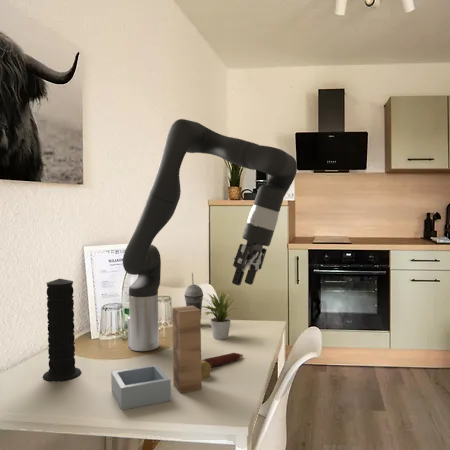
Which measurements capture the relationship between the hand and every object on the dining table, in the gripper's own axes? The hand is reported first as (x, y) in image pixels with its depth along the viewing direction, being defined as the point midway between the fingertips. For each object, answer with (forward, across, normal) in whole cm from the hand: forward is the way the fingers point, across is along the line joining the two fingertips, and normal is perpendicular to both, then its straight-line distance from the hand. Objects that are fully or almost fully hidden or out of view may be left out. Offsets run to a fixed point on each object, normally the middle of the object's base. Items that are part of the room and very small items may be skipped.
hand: (242, 284), depth 123 cm
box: (+32, +17, -10) cm, 37 cm away
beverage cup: (+29, -46, -31) cm, 62 cm away
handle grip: (+39, +13, -37) cm, 55 cm away
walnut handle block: (+28, +8, -3) cm, 29 cm away
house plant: (+26, -36, -16) cm, 47 cm away
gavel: (+27, -9, -3) cm, 29 cm away
